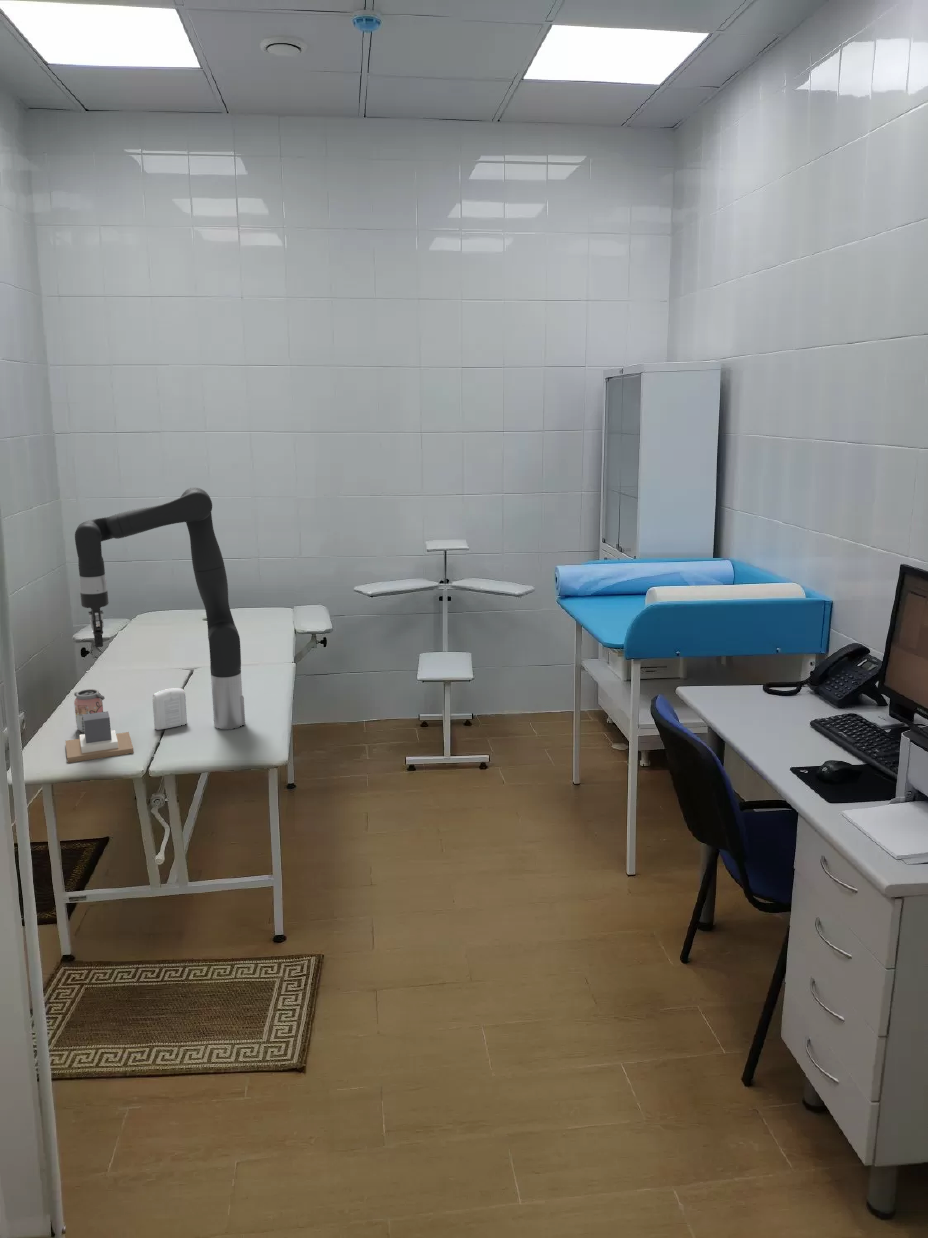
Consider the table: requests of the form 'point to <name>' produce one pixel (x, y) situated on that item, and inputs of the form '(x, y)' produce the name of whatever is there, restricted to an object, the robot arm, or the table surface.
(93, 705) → the beverage can
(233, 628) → the robot arm
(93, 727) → the plug
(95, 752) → the socket
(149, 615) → the table surface
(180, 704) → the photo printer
